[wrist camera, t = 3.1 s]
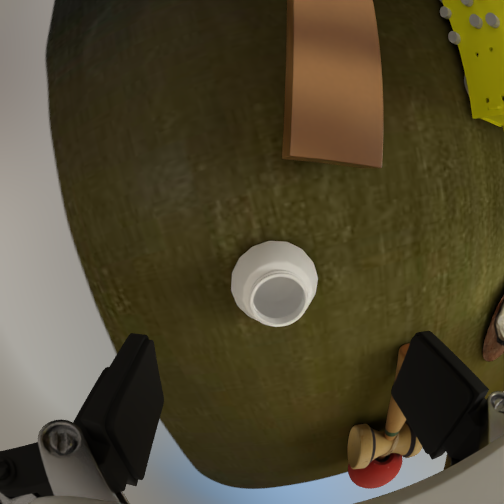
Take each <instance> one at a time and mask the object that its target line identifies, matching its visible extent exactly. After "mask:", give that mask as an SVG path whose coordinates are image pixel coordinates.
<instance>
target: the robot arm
mask: <svg viewBox="0 0 504 504" xmlns="http://www.w3.org/2000/svg"><path fill="white" fill-rule="evenodd" d="M488 390H489V389H488V388H487V387H486V386H485V385H484V384H483V383H482V382H481V380H480V379H479V378H478V377H477V376H476V375H475V374H474V373H473V372H472V371H471V370H470V369H469V368H468V367H467V366H466V365H465V364H464V363H463V362H462V361H461V360H460V359H459V358H458V357H457V356H456V355H455V354H454V353H453V352H452V351H451V350H450V349H449V348H448V347H447V346H446V345H445V344H444V343H443V342H441V341H440V340H439V339H438V338H437V337H436V336H435V335H434V334H433V333H432V332H431V331H424V332H418V333H416V334H415V336H414V337H413V338H412V339H411V342H410V344H409V347H408V350H407V353H406V355H405V358H404V360H403V363H402V366H401V368H400V370H399V373H398V375H397V378H396V380H395V382H394V385H393V387H392V390H391V394H392V397H393V398H394V400H395V402H396V403H397V405H398V407H399V408H400V410H401V412H402V413H403V415H404V417H405V418H406V420H407V422H408V423H409V425H410V427H411V428H412V430H413V432H414V433H415V435H416V437H417V438H418V440H419V442H420V444H421V445H422V447H423V449H424V450H425V452H426V453H427V454H429V455H430V457H431V459H435V458H437V457H439V456H441V455H442V454H443V453H444V452H445V451H446V452H447V457H446V462H445V467H444V470H443V471H441V472H439V473H437V474H435V475H433V476H431V477H428V478H426V479H424V480H422V481H419V482H417V483H415V484H412V485H410V486H407V487H405V488H402V489H399V490H397V491H394V492H391V493H388V494H385V495H382V496H379V497H376V498H372V499H369V500H366V501H362V502H358V503H355V504H504V392H501V391H495V392H492V393H491V394H490V395H489V396H488V398H487V400H486V399H485V398H484V397H485V395H486V394H487V392H488ZM163 402H164V397H163V391H162V386H161V381H160V376H159V371H158V365H157V360H156V354H155V347H154V342H153V340H149V338H148V336H147V335H142V334H133V333H131V334H130V335H129V336H128V338H127V339H126V341H125V342H124V344H123V346H122V347H121V349H120V351H119V352H118V354H117V355H116V357H115V359H114V360H113V362H112V364H111V365H110V367H107V368H105V369H104V370H103V372H102V373H101V375H100V377H99V378H98V380H97V382H96V383H95V385H94V387H93V388H92V390H91V392H90V394H89V395H88V397H87V399H86V401H85V402H84V404H83V406H82V408H81V410H80V411H79V413H78V415H77V417H76V418H75V420H74V422H73V423H72V422H70V421H67V420H55V421H52V422H49V423H47V424H46V425H45V426H43V428H42V429H41V430H40V432H39V435H38V442H37V443H33V444H29V445H25V446H22V447H18V448H13V449H9V450H5V451H0V504H130V503H129V502H128V500H127V498H126V497H125V495H124V494H123V492H122V491H124V490H125V487H126V484H129V485H133V486H137V482H138V479H139V480H142V479H143V478H144V475H145V471H146V467H147V463H148V459H149V455H150V451H151V448H152V443H153V440H154V436H155V432H156V429H157V425H158V422H159V418H160V414H161V411H162V407H163Z"/></svg>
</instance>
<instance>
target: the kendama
mask: <svg viewBox="0 0 504 504" xmlns="http://www.w3.org/2000/svg"><path fill="white" fill-rule="evenodd" d="M409 344H410V343H408V344H405V345H403V346H401V347H400V349H399V354H398V362H397V369H396V376H395V380H396V378H397V375H398V373H399V370H400V368H401V366H402V363H403V360H404V358H405V355H406V353H407V350H408V347H409ZM394 382H395V381H394ZM421 449H422V445H421V444H420V442H419V440H418V438H417V437H416V435H415V433H414V432H413V430H412V428H411V427H410V425H409V423H408V422H407V420H406V418H405V417H404V415H403V413H402V412H401V410H400V408H399V407H398V405H397V403H396V402H395V400H394V398H393V397H392V395H391V399H390V404H389V408H388V414H387V420H386V426H385V432H380V431H376V430H374V429H372V428H371V427H370V426H368V425H367V424H360V425H354V426H353V427H352V429H351V431H350V434H349V438H348V461H349V464H348V473H349V476H350V478H351V480H352V481H353V482H354V483H355V484H356V485H358V486H360V487H363V488H377V487H380V486H383V485H385V484H387V483H388V482H390V481H391V480H392V479H393V478H394V477H395V476H396V475H397V474H398V472H399V470H400V468H401V465H402V456H403V457H406V458H409V457H412V456H415V455H417V454H418V453H419V452H420V450H421Z"/></svg>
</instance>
